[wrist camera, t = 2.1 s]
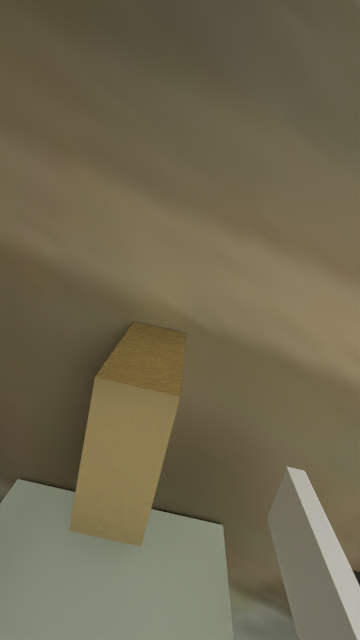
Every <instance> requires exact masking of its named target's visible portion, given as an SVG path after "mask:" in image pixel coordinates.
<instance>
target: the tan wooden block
mask: <svg viewBox="0 0 360 640" xmlns="http://www.w3.org/2000/svg"><path fill="white" fill-rule="evenodd" d="M185 339H186V334H185V333H180V332H176V331H172V330H168V329H163V328H159V327H155V326H151V325H146V324H142V323H138V322H133V323H132V325H131V326H130V328H129V329H128V331H127V332H126V333H125V335H124V336H123V338H122V339H121V341H120V342H119V343H118V345H117V346H116V348H115V349H114V351H113V352H112V353H111V355H110V356H109V358H108V359H107V361H106V362H105V364H104V365H103V366H102V368H101V369H100V371H99V372H98V374H97V375H96V376H95V380H94V386H93V392H92V398H91V404H90V410H89V415H88V421H87V427H86V433H85V439H84V445H83V451H82V457H81V463H80V468H79V474H78V480H77V486H76V492H75V498H74V504H73V510H72V515H71V521H70V527H69V531H73V532H77V533H82V534H86V535H91V536H95V537H100V538H104V539H109V540H113V541H118V542H122V543H126V544H131V545H135V546H140V547H141V546H142V542H143V538H144V535H145V531H146V527H147V523H148V519H149V515H150V511H151V507H152V504H153V500H154V496H155V492H156V488H157V484H158V480H159V477H160V473H161V469H162V465H163V461H164V457H165V453H166V449H167V446H168V442H169V438H170V434H171V430H172V426H173V422H174V419H175V415H176V411H177V407H178V403H179V399H180V393H181V382H182V371H183V360H184V349H185Z"/></svg>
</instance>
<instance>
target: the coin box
mask: <svg viewBox="0 0 360 640" xmlns="http://www.w3.org/2000/svg"><path fill="white" fill-rule="evenodd" d="M74 498H75V492H73V491H69V490H64V489H60V488H55V487H51V486H46V485H42V484H38V483H33V482H29V481H24V480H20V479H18V480H17V481H16V482H15V484H14V485H13V487H12V488H11V489H10V491H9V492H8V493H7V495H6V496H5V498H4V499H3V500H2V502H1V503H0V640H234V637H233V626H232V616H231V605H230V595H229V584H228V574H227V563H226V552H225V542H224V531H223V525H220V524H216V523H211V522H207V521H202V520H198V519H193V518H189V517H185V516H180V515H176V514H171V513H167V512H162V511H158V510H153V509H151V511H150V515H149V519H148V523H147V527H146V531H145V535H144V538H143V542H142V546H141V547H140V546H135V545H131V544H126V543H122V542H118V541H113V540H109V539H104V538H100V537H95V536H91V535H86V534H82V533H77V532H73V531H69V527H70V521H71V515H72V510H73V504H74Z"/></svg>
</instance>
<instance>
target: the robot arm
mask: <svg viewBox="0 0 360 640" xmlns="http://www.w3.org/2000/svg"><path fill="white" fill-rule="evenodd" d="M267 520H268V524H269V528H270V532H271V536H272V540H273V543H274V547H275V551H276V555H277V559H278V563H279V566H280V570H281V574H282V578H283V582H284V586H285V589H286V593H287V597H288V601H289V605H290V609H291V612H292V616H293V620H294V624H295V628H296V632H297V636H298V639H299V640H360V572H357V571H353V570H352V569H351V567H350V565H349V563H348V560H347V558H346V556H345V554H344V552H343V550H342V548H341V546H340V544H339V542H338V540H337V537H336V535H335V533H334V531H333V529H332V527H331V525H330V523H329V521H328V519H327V516H326V514H325V512H324V510H323V508H322V506H321V504H320V502H319V500H318V498H317V496H316V493H315V491H314V489H313V487H312V485H311V483H310V481H309V479H308V477H307V475H306V473H305V471H303V470H299V469H295V468H290V467H286V470H285V473H284V475H283V478H282V481H281V483H280V486H279V488H278V491H277V494H276V496H275V499H274V502H273V504H272V507H271V510H270V512H269V515H268V517H267Z"/></svg>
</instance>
